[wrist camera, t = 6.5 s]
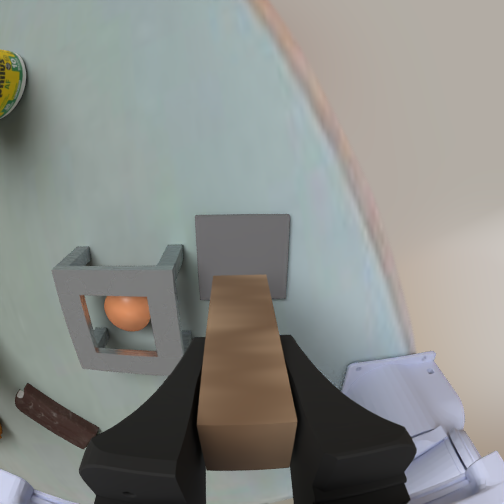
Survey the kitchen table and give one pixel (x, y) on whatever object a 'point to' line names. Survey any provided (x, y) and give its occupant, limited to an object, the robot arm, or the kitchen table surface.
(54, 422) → the ice cream bar
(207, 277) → the pad
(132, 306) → the button
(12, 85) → the supplement bottle
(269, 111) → the kitchen table surface
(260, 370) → the stylus stick
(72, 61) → the kitchen table surface
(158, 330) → the guard frame
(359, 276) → the kitchen table surface
